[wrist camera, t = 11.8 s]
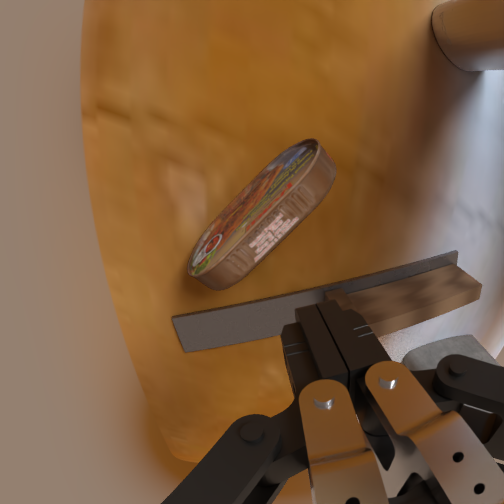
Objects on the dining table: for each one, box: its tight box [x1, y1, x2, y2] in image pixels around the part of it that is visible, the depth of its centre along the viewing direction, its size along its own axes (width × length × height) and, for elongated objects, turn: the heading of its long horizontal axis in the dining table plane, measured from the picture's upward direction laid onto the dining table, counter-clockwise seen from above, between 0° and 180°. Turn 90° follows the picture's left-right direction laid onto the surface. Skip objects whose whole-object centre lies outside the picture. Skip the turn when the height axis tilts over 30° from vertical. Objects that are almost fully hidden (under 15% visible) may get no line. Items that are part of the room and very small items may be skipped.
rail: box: [172, 250, 458, 352], centre depth 34 cm, size 36×5×1 cm, turn 100°
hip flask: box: [403, 335, 500, 413], centre depth 31 cm, size 16×4×20 cm, turn 89°
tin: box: [187, 138, 336, 290], centre depth 25 cm, size 15×3×8 cm, turn 135°
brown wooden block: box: [325, 264, 482, 337], centre depth 31 cm, size 18×4×6 cm, turn 100°
